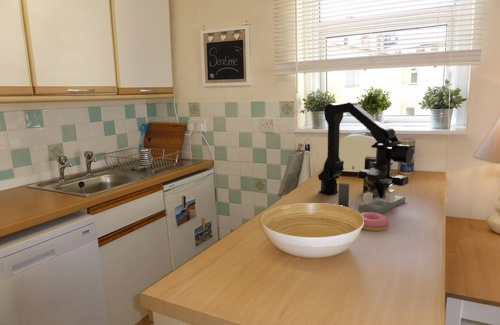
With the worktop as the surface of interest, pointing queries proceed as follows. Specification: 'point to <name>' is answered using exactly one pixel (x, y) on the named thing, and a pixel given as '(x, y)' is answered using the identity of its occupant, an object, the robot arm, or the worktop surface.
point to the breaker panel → (381, 204)
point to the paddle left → (367, 198)
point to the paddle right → (389, 188)
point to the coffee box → (367, 185)
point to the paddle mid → (390, 196)
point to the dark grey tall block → (343, 194)
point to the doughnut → (374, 221)
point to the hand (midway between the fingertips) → (381, 198)
